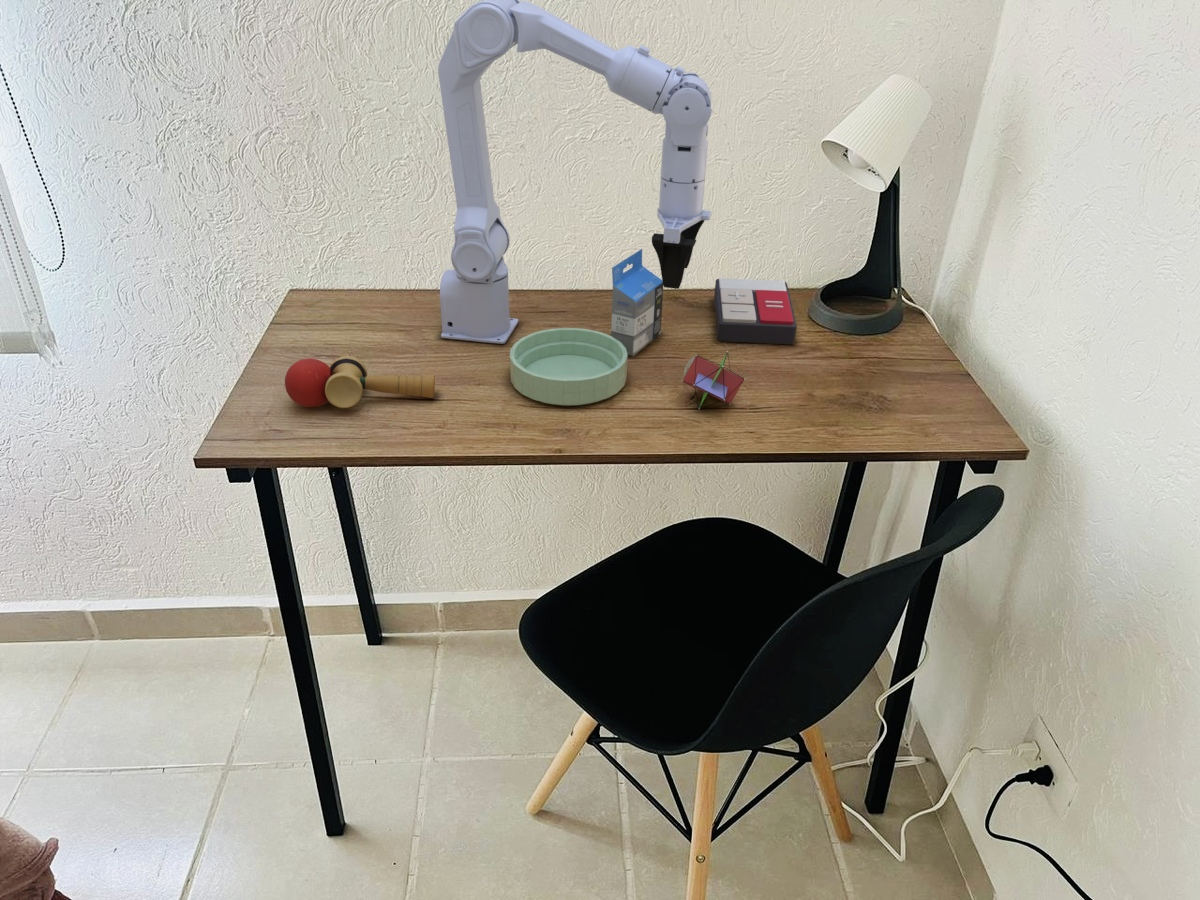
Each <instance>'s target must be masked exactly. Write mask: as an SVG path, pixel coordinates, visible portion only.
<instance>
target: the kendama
mask: <svg viewBox="0 0 1200 900" xmlns="http://www.w3.org/2000/svg"><path fill="white" fill-rule="evenodd" d="M284 387H285V391H286V394H287V395H288V397H289V398H290V399H291V400H292V401H293V402H294V403H295V404H297V405H298V406H302V407H305V408H316V407H320V406H323V405H325V404H328V403H330V404H331V405H332V406H335V407H336V408H339V409H349V408H352V407H354V406H356V405H357V404H358V403H360V400H361V399H362V397H363V392H364V390H367V391H373V392H378V393H384V394H393V395H404V396H414V397H422V398H428V399H434V398H435V391H436V390H435V388H436V375H435V374H423V375H421V374H408V375H406V374H399V375H397V374H391V375H390V374H389V375H387V374H385V375H371V376H368V369H367V367H366V365H365V364H364V362H363V361H362V360H361V359H359V358H358V357H355V356H352V355H341V356H338V357H337V358H336V359H334V360H333V361H332V363H331V364H330V366H329V365H328V364H327V363H326V362H324V361H322V360H319V359H318V358H313V357H312V358H311V357H310V358H309V357H308V358H303V359H300V360H297V361H296V362H294V363H293V364H291V366H289V367H288V369H287V371H286V374H285V376H284Z"/></svg>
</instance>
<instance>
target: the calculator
mask: <svg viewBox="0 0 1200 900" xmlns="http://www.w3.org/2000/svg"><path fill="white" fill-rule="evenodd" d="M713 304H714V310H715V322H716V324H715V325H716V336H717V341H718V342H726V343H727V342H728V343H747V344H748V343H750V344H772V345H794V344H795V341H796V334H797V329H798V328H797V327H798V326H797V321H796V316H795V312H794V308H793V303H792V299H791V294H790V291H789V286H788V282H787V281H785V280H776V279H754V278H732V277H731V278H729V277H720V278H716V279H715V285H714V294H713Z"/></svg>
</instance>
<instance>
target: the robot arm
mask: <svg viewBox="0 0 1200 900" xmlns="http://www.w3.org/2000/svg"><path fill="white" fill-rule="evenodd" d="M514 46H517V47H516V48H517V49H516V52H517V53H524V52H531V51H538V50H547V51H549V52H551V53H553V54H555V55H557V56H559V57H562V58H564V59H566V60H568V61H571V62H573V63H575V64H577V65H579V66H581V67H584V68H585V69H588V70H590V71H592V72H595V73H597V74H598V75H599V74H600V75H601V76H603V77H604V79H605V80H606V83H607V86H608V89H609V91H610V92H611V93H613V94H615V95H616V96H619V97H621V98H623V99H625V100H627V101H629V102H631V103H632V104H634V105H637V106H638V107H641V108H643V109H645V110H647V111H648V112H651V113H652V114H654V115H662V116H663V119H664V122H665V130H664V132H665V133H664V138H663V139H662V146H661V167H660V180H659V182H660V183H659V200H658V201H659V202H658V208H657V210H656V217H657V218H658V220H659V222H660V224H661V226H662V227H663V233H656V232H654V233H653V234H652V237H651V244H652V247H653V248H654V251H655V253H656V255H657V259H658V263H659V267H660V274H661V280H662V281H663V288H665V289H675V290H679V289H680V287H681V284H682V282H683V278H684V274H685V270H686V269H688V267H689V264H690V262H691V258H692V256H693V255H692V254H693V250H694V247H695V245H696V242H697V236H698V233H699V231H700V229H701V227H703V224H704V222H705V221H709V220H711V217H712V211H711V210H704V209H703V208H704V207H703V206H704V195H705V183H706V170H707V159H708V158H707V157H708V146H709V141H708V139H707V137H708V135H709V125H708V122H709V121H710V119H711V116H712V112H713V110H712V91H711V89H710V87H709V86H708V84H707V82H706V81H705V80H704V79H703V78H701V77H700V76H699V75H698V74H697V73H695V72H685V68H684V67H682V66H680V65H676V68H675V67H672V66H671V65H669V64H668V63H665V62H664V61H661V60H660V59H658V58H655V57H654V56H652V55H650V51H651V49H650V48H648V47H647V46H644V45H643V44H640V46H639V47H638V48H636V47H634V46H633V45H627V46H625V47H622V48H620V49H614V48H613V47H611V46H609V45H607V44H605V43H604V42H602V41H600V40H599V39H596V38H595V37H593V36H592V35H590V34H588V33H587V32H585V31H583V30H582V29H579V28H578V27H575V26H574V25H572V24H570V23H569V22H567V21H565V20H564V19H561V18H560V17H558V16H556V15H555V14H553V13H551V12H549V11H547V10H545V8H542V7H540V6H538V5H536V4H534V3H532V2H530V1H526V0H521V1H520V0H481V1H478V2H475V3H473V4H472V5H471V6H469V7H468V9H466V10H465V11H464V12H463V14H461V15H460V16H459V17H458V18H457V19H456V20H455V21H454V23H453V29H452V32H451V35H450V37H449V40H448V41H447V44H446V46H445V48H444V51H443V53H442V55H441V58H440V60H439V63H438V67H437V68H438V69H437V70H438V71H437V74H438V79H439V80H438V82H439V88H440V95H441V102H442V103H441V104H442V109H443V116H444V124H445V131H446V138H447V146H448V152H449V159H450V168H451V174H452V181H453V188H454V195H455V203H456V214H455V220H454V227H453V233H454V234H453V235H454V242H453V243H454V244H453V246H452V249H451V253H450V260H451V265H452V267H453V269H446V270H444V272H443V274H442V276H441V279H440V283H439V305H440V318H441V329H442V332H441V333H440V337H441V338H442V339H446V340H447V339H449V340H458V341H466V342H467V341H469V342H479V343H488V344H497V345H504V344H506V342H507V341H508V339H509V338H510V337H511V334H512V333H513V331H514V330H515V328H516V327H517V325H518V323H519V319H518V318H513V317H511V315H510V314H511V313H510V288H509V287H510V286H509V268H508V265H507V264H506V263H505V259H504V255H505V254H506V253H507V251H508V249H509V246H510V241H511V239H510V234H509V231H508V229H507V227H506V225H505V224H504V222H503V220H502V217H501V210H500V208H499V205H498V204H497V203H496V201H495V194H494V186H493V177H492V169H491V161H490V153H489V144H488V134H487V128H486V127H487V126H486V119H485V117H486V116H485V110H484V101H483V93H482V92H483V91H482V85H481V79H482V76H483V75H484V74H485V73H486V72H487V70H488V69H489V68H490V67H491V66H492V64H494V63H495V61H496V60H499V59H500V58H502V57H503V56H505V55H506V54H507V53H508V52H509V50H510V49H511V48H513V47H514Z"/></svg>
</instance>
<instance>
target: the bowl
mask: <svg viewBox="0 0 1200 900" xmlns="http://www.w3.org/2000/svg"><path fill="white" fill-rule="evenodd" d="M628 357H629V356H628V355H627V350H626V348H625V347H624V345H623V344H622V343H621V342H620V341H618V340H617V339H615V338H614V337H612V336H611V335H609V334H607V333H604V332H602V331H598V330H592V329H589V328H588V329H587V328H579V327H557V328H549V329H543V330H539V331H536V332H532V333H529V334H527V335H525V336H523V337H521V338H520V339H519V340H517V341H516V342H514V343H513V345H512V347H511V348H510V349H509V368H510V369H509V371H510V372H509V373H510V382H511V384H512V386H513V387H514V389H515V390H517V391H518V392H519V393H520V394H521V395H523V396H525V397H527V398H529V399H531V400H534V401H537V402H540V403H544V404H548V405H554V406H564V407H566V406H568V407H569V406H573V407H574V406H583V405H589V404H594V403H597V402H600V401H604V400H607V399H610V398H611V397H613V396H615V395H616V394H618V393H619V392H620V391H621V390H622V389H623V388H624V387H625V385H626V382H627V380H628Z"/></svg>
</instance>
